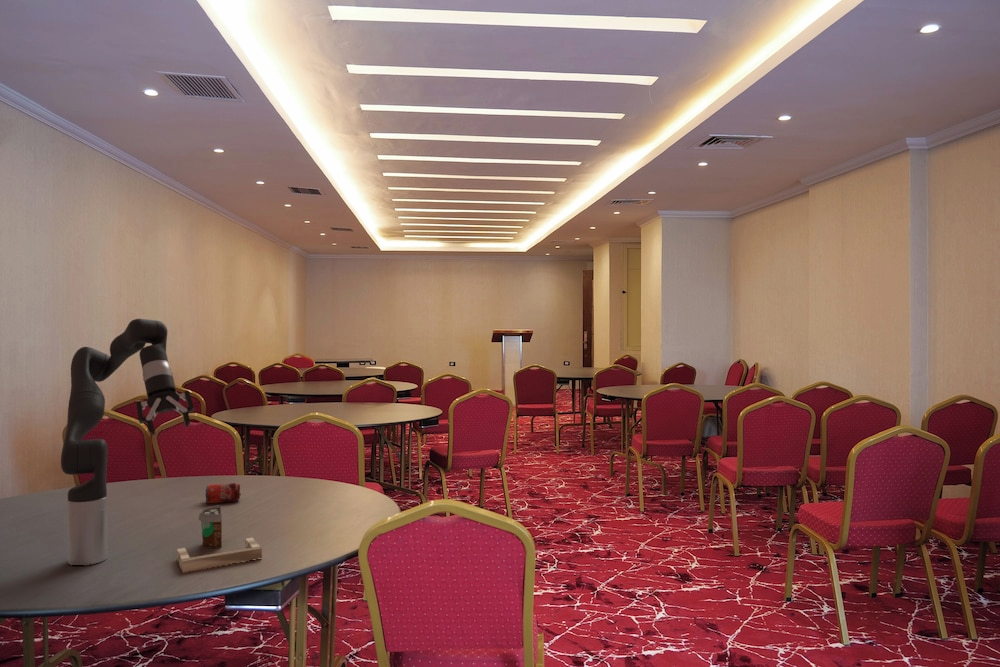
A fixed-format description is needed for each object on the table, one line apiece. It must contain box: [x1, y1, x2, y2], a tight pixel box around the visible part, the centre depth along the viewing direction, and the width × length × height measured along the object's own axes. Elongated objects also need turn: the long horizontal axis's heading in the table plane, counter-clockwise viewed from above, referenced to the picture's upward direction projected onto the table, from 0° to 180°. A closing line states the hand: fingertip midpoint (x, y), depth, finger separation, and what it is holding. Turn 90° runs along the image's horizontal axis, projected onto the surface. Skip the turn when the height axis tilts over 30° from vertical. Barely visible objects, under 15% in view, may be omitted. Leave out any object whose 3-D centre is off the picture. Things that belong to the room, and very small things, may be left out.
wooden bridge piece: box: [176, 537, 263, 574], centre depth 190 cm, size 12×20×3 cm, turn 122°
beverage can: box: [205, 482, 241, 504], centre depth 255 cm, size 7×12×7 cm, turn 109°
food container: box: [198, 504, 223, 548], centre depth 204 cm, size 12×6×10 cm, turn 23°
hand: (170, 430), depth 192 cm, fingers open, 8 cm apart
